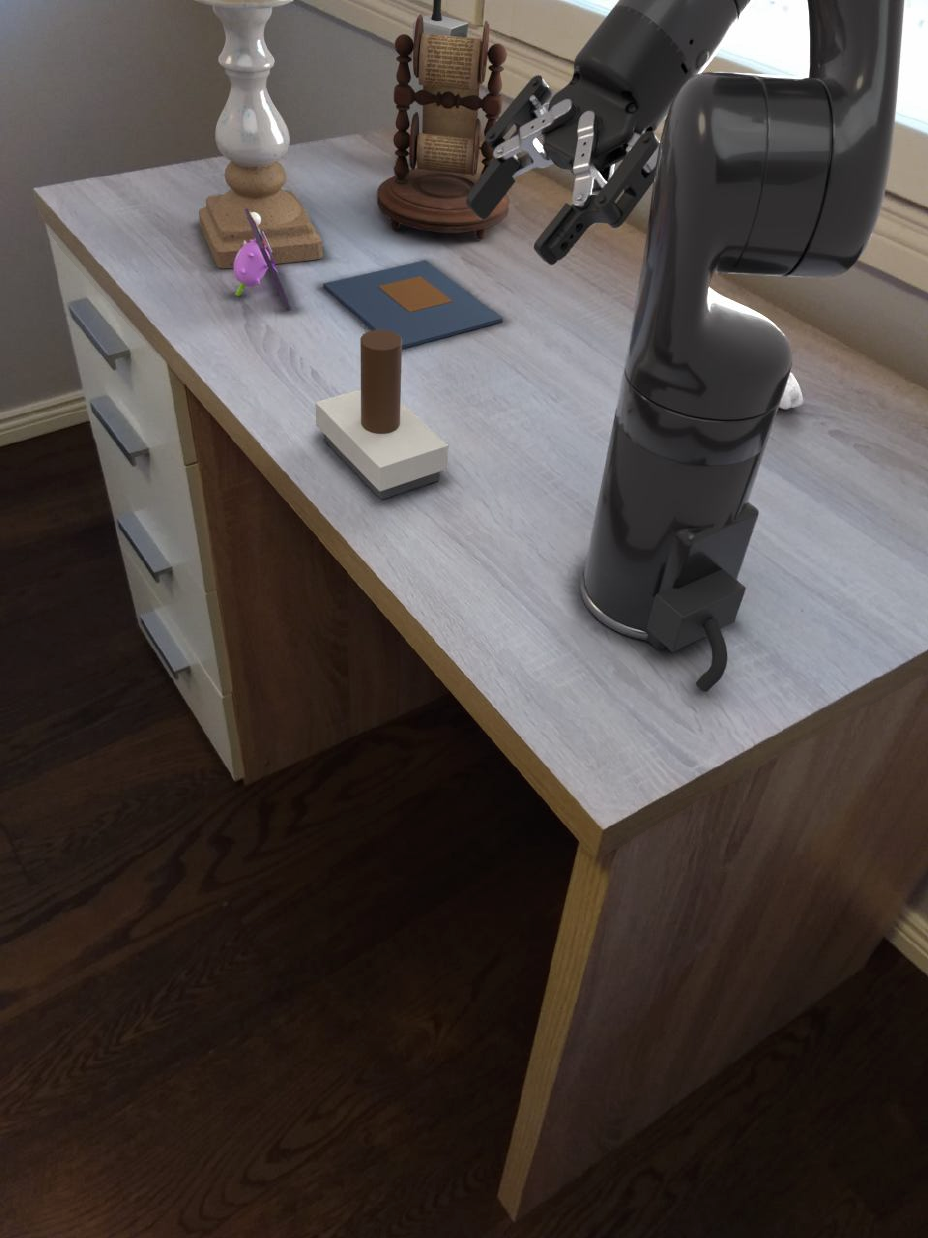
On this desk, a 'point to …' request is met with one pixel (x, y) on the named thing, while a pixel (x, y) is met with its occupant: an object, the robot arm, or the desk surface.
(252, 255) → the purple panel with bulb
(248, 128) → the candle holder
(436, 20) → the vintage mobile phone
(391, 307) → the mat
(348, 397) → the stamp
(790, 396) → the white rounded piece
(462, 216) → the scroll
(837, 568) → the desk surface
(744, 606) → the desk surface
